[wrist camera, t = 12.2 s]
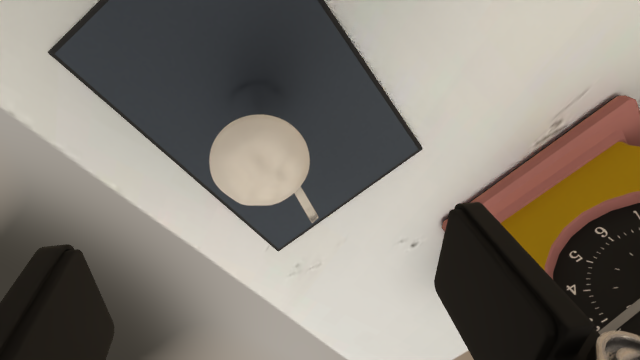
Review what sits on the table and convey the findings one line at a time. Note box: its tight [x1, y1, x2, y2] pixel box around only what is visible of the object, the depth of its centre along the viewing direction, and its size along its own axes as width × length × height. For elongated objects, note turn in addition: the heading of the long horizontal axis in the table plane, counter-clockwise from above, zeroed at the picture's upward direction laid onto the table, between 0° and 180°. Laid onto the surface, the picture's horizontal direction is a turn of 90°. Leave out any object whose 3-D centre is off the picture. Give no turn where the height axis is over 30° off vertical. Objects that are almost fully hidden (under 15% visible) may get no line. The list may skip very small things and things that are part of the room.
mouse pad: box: [48, 0, 423, 251], centre depth 24 cm, size 20×14×1 cm
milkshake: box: [209, 82, 318, 223], centre depth 20 cm, size 4×5×10 cm
